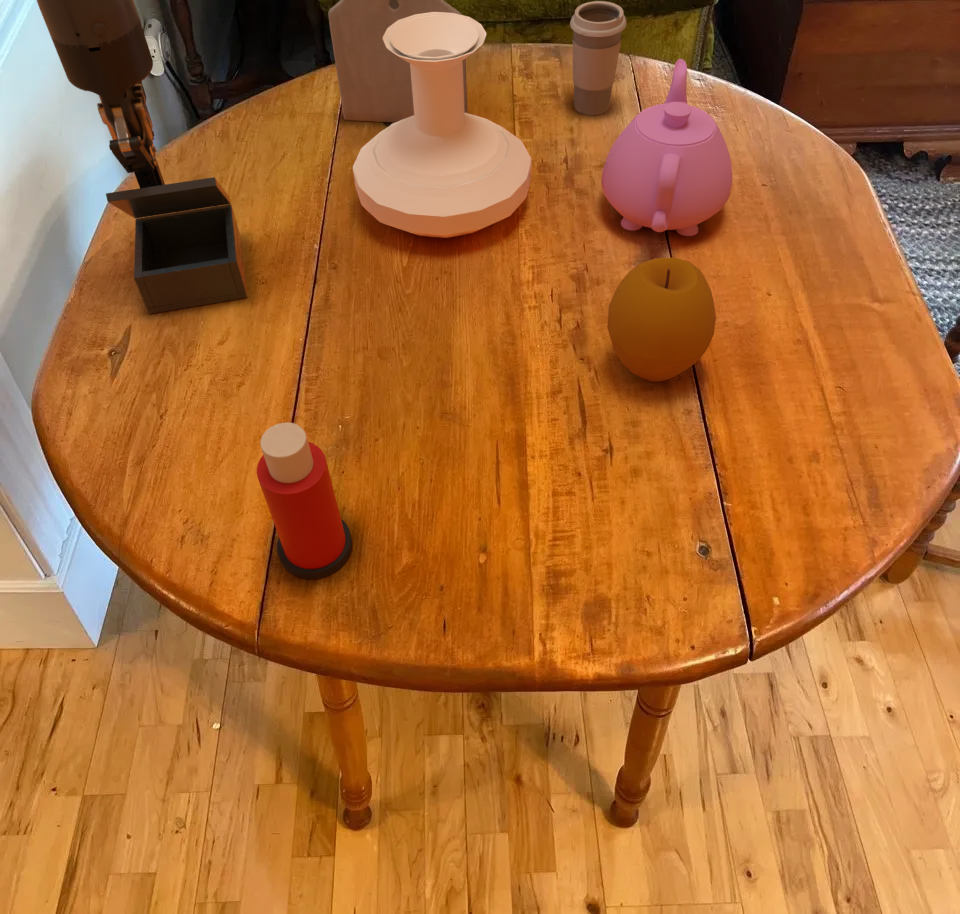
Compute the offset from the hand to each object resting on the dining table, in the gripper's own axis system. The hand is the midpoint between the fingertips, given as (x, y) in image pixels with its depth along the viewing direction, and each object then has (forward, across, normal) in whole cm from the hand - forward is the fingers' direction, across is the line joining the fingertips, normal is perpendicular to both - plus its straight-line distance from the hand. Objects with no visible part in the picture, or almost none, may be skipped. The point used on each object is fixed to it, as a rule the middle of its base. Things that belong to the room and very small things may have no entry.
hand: (155, 194), depth 88 cm
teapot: (+9, +4, +54) cm, 55 cm away
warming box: (+9, +2, +2) cm, 9 cm away
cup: (+9, -19, +53) cm, 57 cm away
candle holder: (+9, -3, +30) cm, 32 cm away
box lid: (0, +2, +2) cm, 2 cm away
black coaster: (+9, +40, +10) cm, 43 cm away
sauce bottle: (+8, +41, +10) cm, 43 cm away
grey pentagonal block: (+9, -25, +30) cm, 41 cm away
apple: (+9, +28, +44) cm, 53 cm away
